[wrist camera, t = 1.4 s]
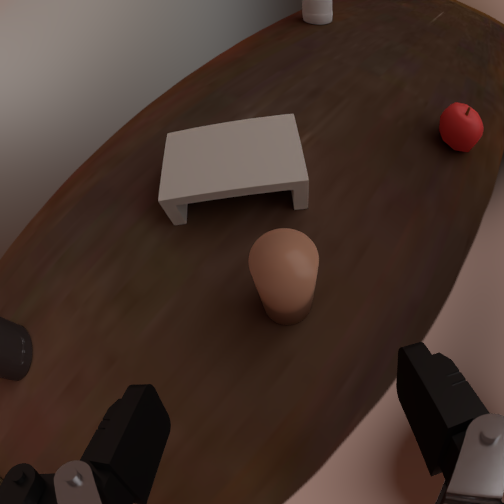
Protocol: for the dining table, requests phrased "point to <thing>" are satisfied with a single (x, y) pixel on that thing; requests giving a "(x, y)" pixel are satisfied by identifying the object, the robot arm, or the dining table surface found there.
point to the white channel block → (232, 163)
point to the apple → (460, 127)
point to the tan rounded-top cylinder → (285, 274)
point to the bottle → (317, 11)
